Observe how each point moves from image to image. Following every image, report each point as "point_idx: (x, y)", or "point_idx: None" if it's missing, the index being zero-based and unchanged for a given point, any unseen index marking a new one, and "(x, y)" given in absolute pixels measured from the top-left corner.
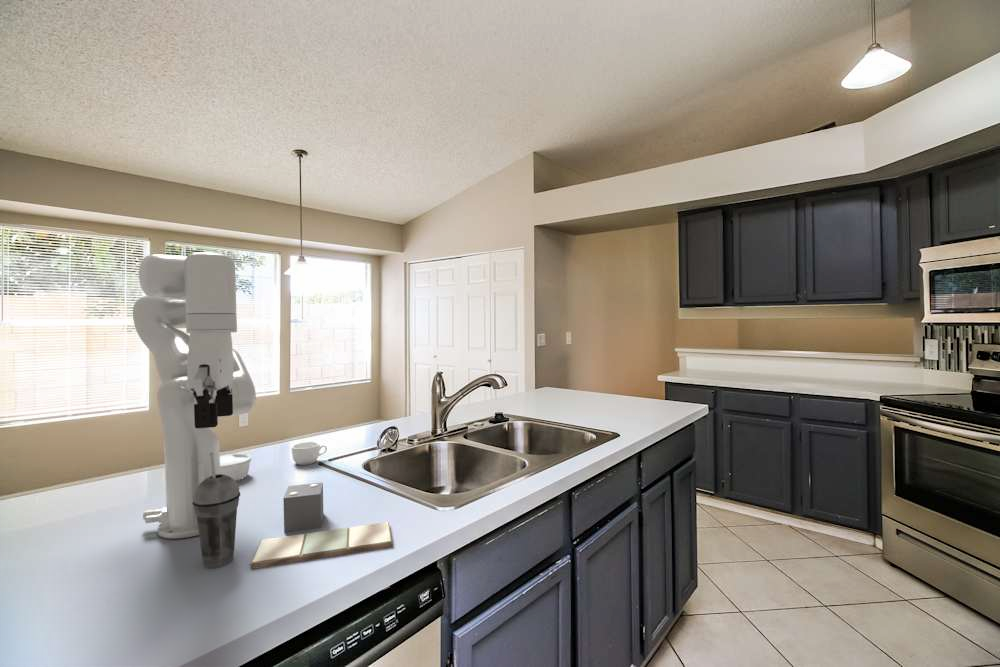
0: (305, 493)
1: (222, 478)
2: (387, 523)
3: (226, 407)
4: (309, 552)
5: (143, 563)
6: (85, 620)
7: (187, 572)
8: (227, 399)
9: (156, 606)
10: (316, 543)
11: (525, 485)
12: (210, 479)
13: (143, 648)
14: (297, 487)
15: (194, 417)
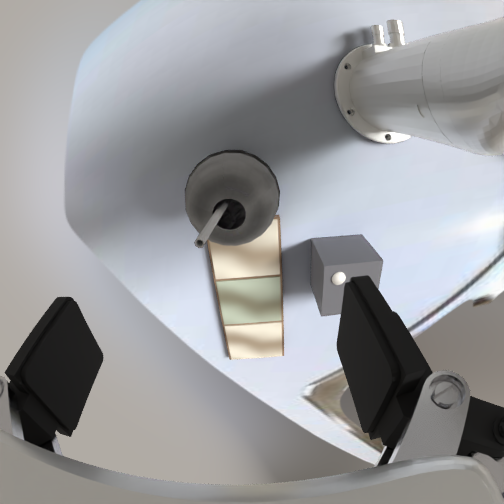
0: (333, 295)
1: (217, 232)
2: (278, 355)
3: (348, 365)
4: (220, 289)
5: (259, 59)
6: (124, 73)
7: (213, 135)
8: (363, 406)
9: (136, 138)
10: (243, 293)
11: (329, 430)
12: (211, 206)
13: (74, 170)
14: (369, 276)
15: (36, 325)
